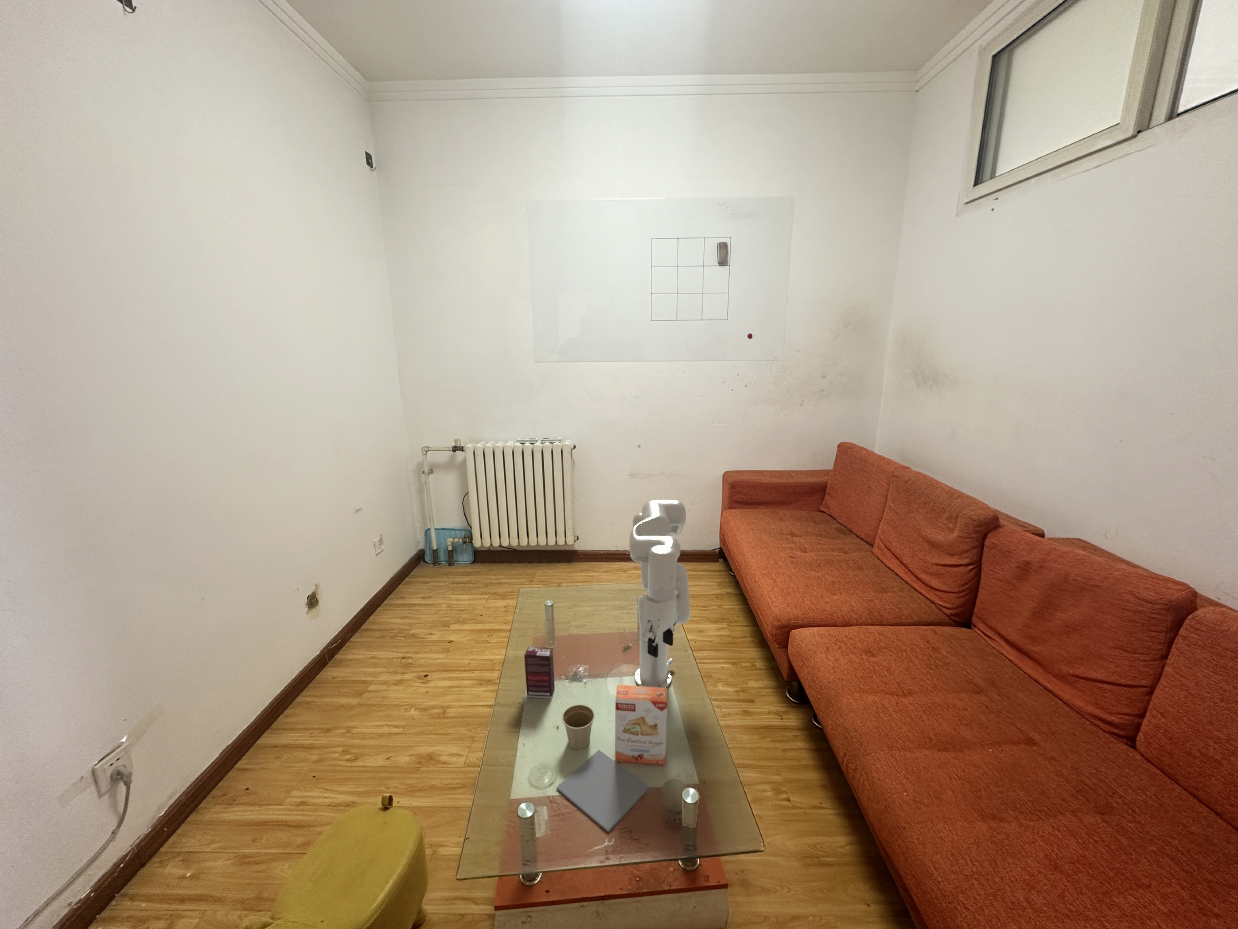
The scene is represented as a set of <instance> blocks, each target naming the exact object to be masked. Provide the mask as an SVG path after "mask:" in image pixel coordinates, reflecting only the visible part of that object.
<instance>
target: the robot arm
mask: <svg viewBox="0 0 1238 929" xmlns="http://www.w3.org/2000/svg"><path fill="white" fill-rule="evenodd" d="M686 520H687V511H686V506H685V505H684V504H683V502H682V501H680V500H679V499H652V500H649V501H647V502H646V503H645V504H644V505H642V508H641V512H639V513H636V514H635V515H634V516H633V518H632V529H631V531H630V534H629V541H628V542H629V556H630V558H631V560H632V561H633V562H635V563H639V564H640V578H641V579H640V582H641V585H642V588H643V589H644V590H645V591H647V594H644V595H642V596H641V597H639V599H638V600H637V605H636V607H637V608H636V609H637V616H638V623H639V668H638V669H637V670H636V671H635V674H634V680H635V683H636V684H637V686H642V687H657V688H665V687H667V686H668V685H669V684H670V685H671V683H670V682H672V675H670V674H671V672H670V671H669V668H670V666H672V664H674V659H673V658H672V657H670V658H668V650H669V646H670V647H671V646H673V645H674V632H675V629H676V628H675V626H676V625H683V624H686V623H688V622H689V621H690V618H691V601H690V589H689V588H690V587H689V577H688V571H687V568H686V567H685V565H684V564H682V563H679V562H678V559H679V557H680V555H681V542H680V541H679V539H678V538H677V537H675V536H679V535H680V534H681V533H682V532H683V529H684V526H685V523H686ZM668 678H670V679H668ZM670 685H669V686H670ZM669 686H668V687H669ZM668 687H667V688H668Z"/></svg>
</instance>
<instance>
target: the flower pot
mask: <svg viewBox="0 0 1238 929" xmlns="http://www.w3.org/2000/svg"><path fill="white" fill-rule="evenodd" d="M561 714H562V715H561V721H562V723H563V725H564V727H565V731H566V736H567V741H568V744H569V746H570V747H571V748H572V749H576V750H580V749H584V748H585V747H587V746H589V744H590V741H591V732H592V726H593V722H594V720H595V717H596V716H595V711H594V709H593V708H591V707H590V706H588V705H586V704H574V705H571V706H569V707H567V708H566V709H565V710H564V711H563V713H561Z"/></svg>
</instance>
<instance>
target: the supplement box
mask: <svg viewBox="0 0 1238 929" xmlns="http://www.w3.org/2000/svg"><path fill="white" fill-rule="evenodd" d="M553 649H554V648H553V647H539V646H527V648H526V650H525V652H524V654H523V655H524V656H523V657H524V672H525V684H526V686H525V689H526V697H527V698H532V699H534V698H536V699H553V697H554V692H555V689H556V688H555V668H554V665H555V664H554V650H553Z"/></svg>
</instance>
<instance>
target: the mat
mask: <svg viewBox="0 0 1238 929" xmlns="http://www.w3.org/2000/svg"><path fill="white" fill-rule="evenodd" d="M649 789H650V785H649V784H647V783H646V782H644V780H642V779H640V778H639V777H638V776H636V775H635V774H633V773H632V772H631V771H629V770H628V769H627V768H625V767H624V766H622V765H621V764H619V763H618V761H615V759H613V758H611V757H609V756H608V755H607V754H605V753H604V752H603V751H601V750H600V749H598V750H596V752H594V753H593V754H592V755H591V756H590V757H588V759H586V760H585V761H584V762H583V763H582V764H581V765H580V766H579V767H578V768H577V769H576V770H574V771H573V772H572V773H571V774H570V775H569V776H567V778H565V779H564V780H563V781H562V782H561V783H560V784H558V785H557V787H556V790H557V791H558V792H559V793H561V794H562V795H563V796H564V797H565V798H567V799H568V800H569V801H570V802H571V803H573V804H574V805H575V806H576V807H577V808H579V810H581V811H582V812H583V813H585V814H586V815H587V816H588V817H589V818H590V819H591V820H592V821H594V822H595V823H596V824H598V826H600V827H601V828H602V829H604V831H606V832H607V833H610V832H611V830H612V829H614V827H615V826H616V825H617V824H618V823H619V822H620V821H621V819H622V818H624V817H625V815H626V814H627V813H628V812H629V811H630V810H631V809H632V807H633V806H635V805H636V804H637V802H638V801H639V800H640V799H641V798H642V796H643V795H644V794H646V792H647V791H649Z"/></svg>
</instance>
